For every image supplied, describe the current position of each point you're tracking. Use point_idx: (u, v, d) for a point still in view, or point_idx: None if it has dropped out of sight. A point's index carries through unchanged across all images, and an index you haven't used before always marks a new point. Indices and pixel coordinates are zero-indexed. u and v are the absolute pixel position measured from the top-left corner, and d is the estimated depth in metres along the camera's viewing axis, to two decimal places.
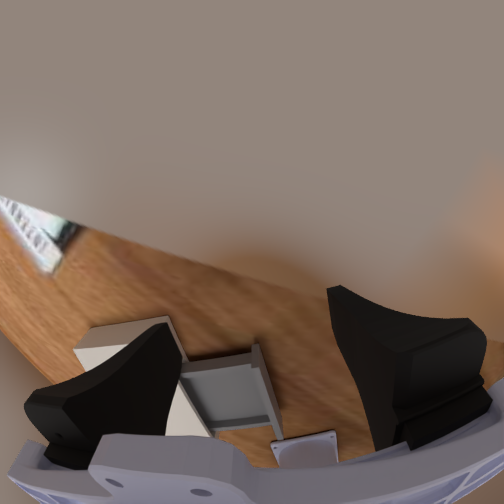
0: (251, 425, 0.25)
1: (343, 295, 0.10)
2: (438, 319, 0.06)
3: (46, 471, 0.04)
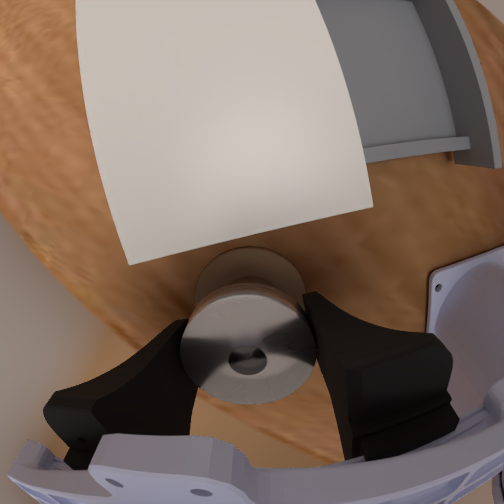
0: (433, 144, 0.10)
1: (315, 302, 0.10)
2: (402, 332, 0.06)
3: (46, 471, 0.04)
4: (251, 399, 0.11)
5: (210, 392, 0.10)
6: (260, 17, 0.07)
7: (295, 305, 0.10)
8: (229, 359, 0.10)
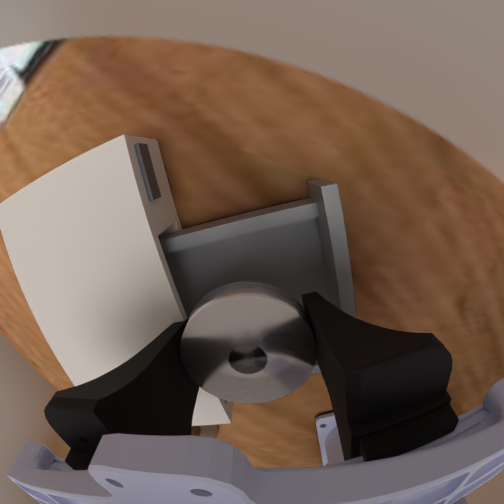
0: None
1: (315, 302, 0.10)
2: (402, 333, 0.06)
3: (46, 471, 0.04)
4: (251, 398, 0.11)
5: (210, 391, 0.10)
6: (137, 319, 0.12)
7: (295, 304, 0.10)
8: (229, 358, 0.10)
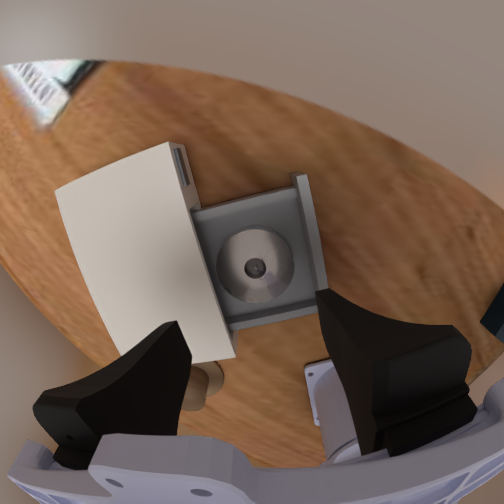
0: (286, 315, 0.20)
1: (330, 298, 0.10)
2: (422, 325, 0.06)
3: (46, 471, 0.04)
4: (256, 298, 0.19)
5: (231, 293, 0.19)
6: (170, 269, 0.17)
7: (282, 237, 0.19)
8: (244, 267, 0.18)
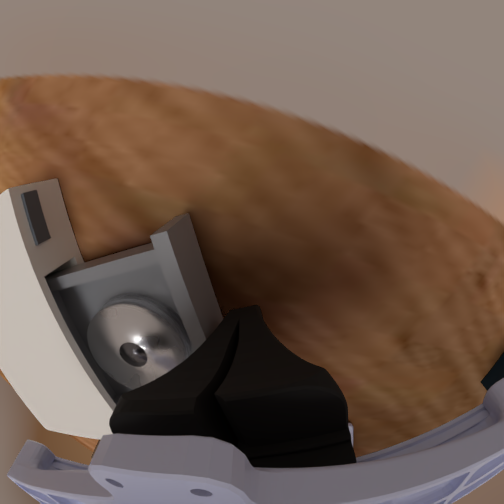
0: None
1: (247, 317, 0.10)
2: (300, 361, 0.06)
3: (46, 471, 0.04)
4: None
5: (115, 378, 0.12)
6: (42, 346, 0.11)
7: (166, 313, 0.12)
8: (120, 352, 0.12)
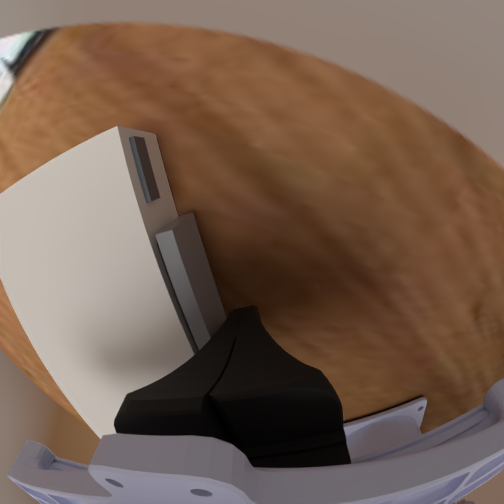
0: None
1: (244, 318, 0.10)
2: (296, 362, 0.06)
3: (46, 471, 0.04)
4: None
5: None
6: (134, 336, 0.10)
7: None
8: None
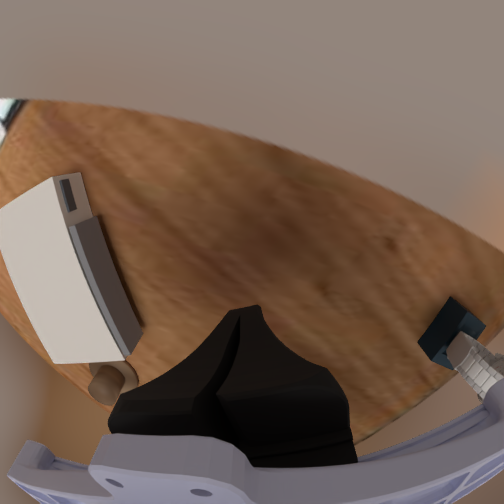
0: None
1: (248, 317, 0.10)
2: (302, 361, 0.06)
3: (46, 471, 0.04)
4: None
5: None
6: (64, 281, 0.18)
7: None
8: None
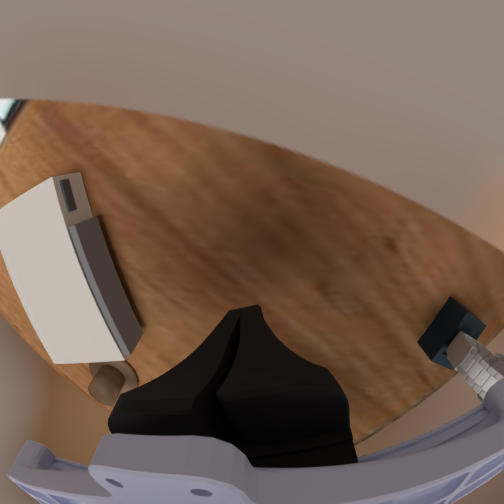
0: None
1: (248, 317, 0.10)
2: (302, 361, 0.06)
3: (46, 471, 0.04)
4: None
5: None
6: (64, 281, 0.18)
7: None
8: None
